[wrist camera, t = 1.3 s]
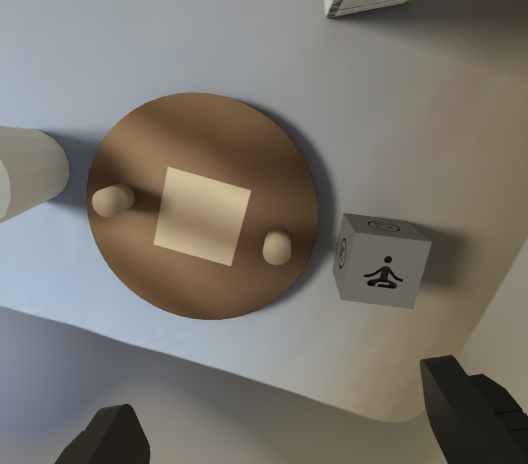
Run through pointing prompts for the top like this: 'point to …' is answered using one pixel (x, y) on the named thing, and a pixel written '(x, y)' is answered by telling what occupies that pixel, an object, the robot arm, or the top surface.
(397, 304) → the dice cube
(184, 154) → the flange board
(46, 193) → the white cup
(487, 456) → the robot arm
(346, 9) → the syrup box
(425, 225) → the top surface
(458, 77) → the top surface
